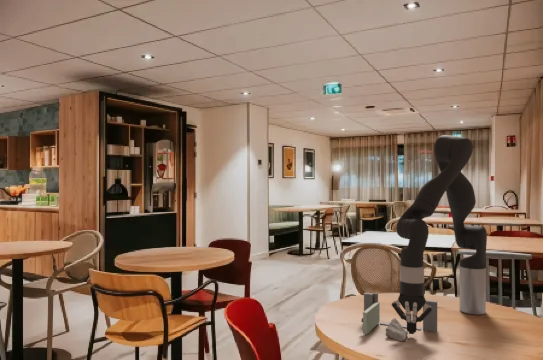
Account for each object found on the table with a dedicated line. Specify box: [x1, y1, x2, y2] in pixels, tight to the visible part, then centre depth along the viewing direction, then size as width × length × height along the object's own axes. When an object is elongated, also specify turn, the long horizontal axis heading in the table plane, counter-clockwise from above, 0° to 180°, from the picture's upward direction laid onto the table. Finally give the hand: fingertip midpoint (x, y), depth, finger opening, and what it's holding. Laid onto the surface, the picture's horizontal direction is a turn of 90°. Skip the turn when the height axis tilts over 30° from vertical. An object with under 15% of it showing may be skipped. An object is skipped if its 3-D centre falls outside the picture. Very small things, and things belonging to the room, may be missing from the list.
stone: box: [385, 318, 409, 342], centre depth 139 cm, size 6×12×4 cm, turn 154°
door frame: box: [363, 292, 438, 333], centre depth 147 cm, size 3×24×10 cm, turn 64°
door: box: [361, 301, 381, 335], centre depth 144 cm, size 2×14×7 cm, turn 149°
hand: (411, 333), depth 136 cm, fingers closed
